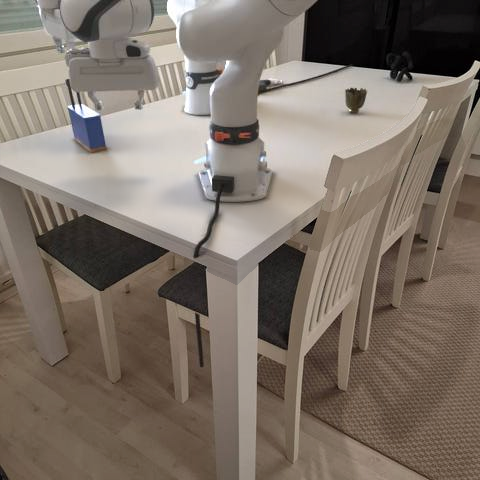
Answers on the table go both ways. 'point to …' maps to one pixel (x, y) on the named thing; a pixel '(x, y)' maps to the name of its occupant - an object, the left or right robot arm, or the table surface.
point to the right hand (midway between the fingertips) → (119, 109)
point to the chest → (88, 132)
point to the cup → (355, 99)
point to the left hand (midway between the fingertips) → (66, 55)
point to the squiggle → (399, 66)
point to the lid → (80, 107)
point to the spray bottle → (267, 83)
